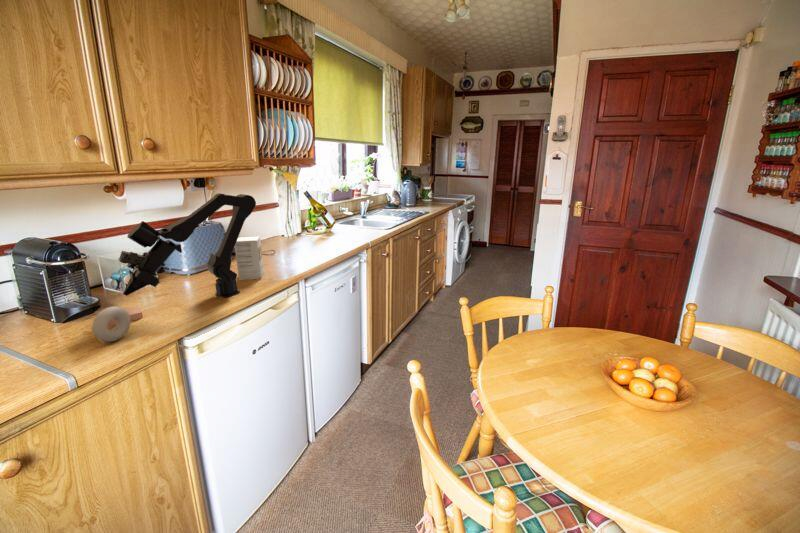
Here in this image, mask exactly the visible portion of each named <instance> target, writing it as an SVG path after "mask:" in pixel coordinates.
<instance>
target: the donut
mask: <svg viewBox="0 0 800 533" xmlns="http://www.w3.org/2000/svg"><path fill="white" fill-rule="evenodd" d="M113 318H114V319H115V320H116V325H114V327H113V328H112V329H110V328H109V326H108V323H109V322H110V320H111V319H113ZM92 322H93V323H92V333H93V335H94V336H95V338H96V339H97V340H98V341H102V342H104V343H113V342H117V341H118V340H120V339H122V338H123V337H124V336H125V335H126V334H127V333H128V331H129V329H130V327H131V326H130V325H131V321H130V316H129V314H128V313H127V311H126V310H125V309H124V308H123V307H121V306H110V307H109V306H108V307H106V308H104V309H102V310H101V311H99V313H97V314H96V316H95V318H94V319H93V321H92Z"/></svg>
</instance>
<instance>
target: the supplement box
mask: <svg viewBox="0 0 800 533" xmlns="http://www.w3.org/2000/svg"><path fill="white" fill-rule="evenodd" d="M261 243H262V242H261V236H246V237H245V236H242V237H238V239H237V241H236V244H235V246H234V251H235V259H236V260H235V261H236V266H237V273H238V274H237V276H238V279H239V281H246V280H260V279H261V280H262V278H263V276H264V274H265V269H264V261H263V253H262V244H261Z"/></svg>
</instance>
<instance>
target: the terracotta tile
mask: <svg viewBox="0 0 800 533" xmlns="http://www.w3.org/2000/svg"><path fill="white" fill-rule="evenodd" d="M123 309H125V310H126V311H127V313H128V314H129V316H130V322H132V321H137V320H141V319H143V318H144V316H143V312H142V310H141V309H140V308H139V306H138V305H134V306H128V307H126V308H123ZM111 326H116V320H115V319H114V318H113V319H111V320H110V322H109V323H108V327H111Z"/></svg>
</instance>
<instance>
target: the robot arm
mask: <svg viewBox="0 0 800 533" xmlns="http://www.w3.org/2000/svg"><path fill="white" fill-rule="evenodd" d="M256 202H257V201H256V200H255V198H254V197H253V196H252V195H249V194H243V193H240V194H236V195H231V194H225V193H220V192H219V193H216V194H215V195H214V196H212V198H210V199H209V200H207V201H206V202H204V204H202V205H201V206H200V207H198V208H197V209H196V210H194V211H193V212H192V213H190V214H189V215H188V216H187V215H186V217H183V218H181V219H179V220H178V219H177V220H176V221H175V222H172V223H170V224H168V225H167V227H165V228H160V229H155V228H153V227H152V226H150V225H149V223H147V222H145V221H141V222H140V223H138V224H137V225H136V226H134V227H132V228H131V230H130V232H129V233H128V234H127V236H126V237H127V238H128V239H129V240H131V241H132V242H135V243H136V244H138V245H140V246H141V247H142V248H148V247H149V248H150V250H148V252H147V251H146V252H143V253H142V254H138V253H137V252H134V251H126V250H121V252H120V255H119V258H118V261H119V262H120V263H121V264H127V265H126V267H127V268H129V270H128V273H129V280H128V282H127V283H126V286H125V289H124V291H123V293H122V294H123V295H124V296H129V295H130V294H133V293H135V292H137V291H140V290H141V289H142V288H145V287H147V286H152V287H154V288H156V287H158V284H160V278H158V276H157V275H158V274H157V272H158V271H159V270H160V268H162V267H165V265H166V262H167V260H168V259H169V258H170V257H171V255H173V253H174V252H175V251H177V252H178V253H181V254H182V253H183V250H182V244H181V243H183V242H185V241H187V240H188V239H189V238H190V237H191V235H192V234H193V233H194V232H195V231H196V228H197V227H198V226H199V225H201V224H202V223H203V222H204V221H206V220H207V219H208V218H209V217H211V216H213V214H214V213H216V212H217V211H218V210H220V209H221V208H222V207H223V206H230V207H231V206H232V215H231V218H230V221H229V223H228V226H227V228H226V231H225V233H224V236H223V238H222V241H221V243H220V246H219V249H218V250H217V252H216V253H211V252H210V255H209V258H208V261H207V262H206V264H207V270H208V272H209V273H211V275H213V276H215V278H217V279H215V282H216V283H215V285H214V286H215V291H216V292H215V295H216V296H219V297H222V298H227V297H228V298H229V297H231V296H234V295H237V294H239V293H241V291H240V290H238V285H237V284H238V283H237V277H238V274H237V272H235V271H233V270H231V265H232V254H233V251H234V250H235V244H236V241H237V239H238V238H239V236H240V234H241V231H242V228H243V227H244V226H243V225H244V224H245V221H246V219H247V218H249V217H250V216H251V214H252V213H253V211H254V209H255V208H256V205H257V203H256ZM161 237H162V238H163V239H162V238H161ZM164 239H166V240H164ZM171 240H172V241H171ZM173 241H174V242H173ZM175 242H177V244H176V243H175ZM130 269H132V270H130Z"/></svg>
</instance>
